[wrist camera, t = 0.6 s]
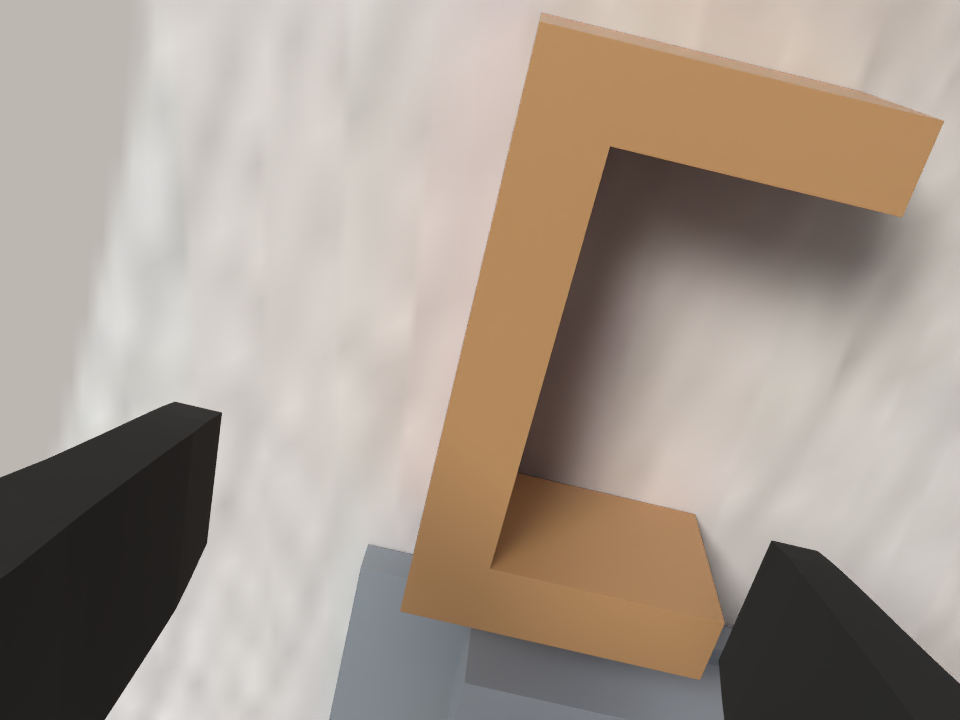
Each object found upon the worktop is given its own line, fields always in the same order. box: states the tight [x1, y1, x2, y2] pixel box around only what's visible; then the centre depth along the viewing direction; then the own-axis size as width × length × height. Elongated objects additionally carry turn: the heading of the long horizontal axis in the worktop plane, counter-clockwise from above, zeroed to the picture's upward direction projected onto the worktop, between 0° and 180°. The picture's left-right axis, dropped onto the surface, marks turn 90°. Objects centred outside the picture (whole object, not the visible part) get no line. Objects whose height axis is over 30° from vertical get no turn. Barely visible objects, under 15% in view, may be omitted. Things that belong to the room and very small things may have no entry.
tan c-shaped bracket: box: [400, 13, 944, 680], centre depth 18 cm, size 7×12×4 cm, turn 167°
